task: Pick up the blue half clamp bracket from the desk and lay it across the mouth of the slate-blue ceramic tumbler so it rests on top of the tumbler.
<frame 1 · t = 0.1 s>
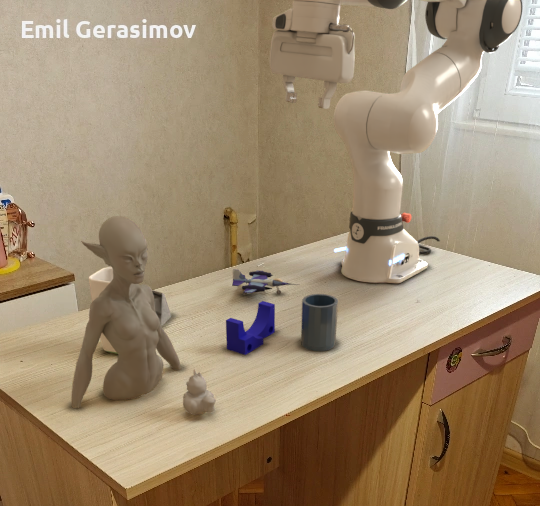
hand: (306, 105, 141), 39 cm above the worktop, tool pointing down, fingers open, 8 cm apart
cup: (122, 350, 141), on the worktop
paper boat: (150, 317, 154), on the worktop
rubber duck: (200, 414, 120), on the worktop
tumbler: (318, 343, 143), on the worktop
toy airplane: (261, 294, 165), on the worktop
elf figurine: (138, 393, 126), on the worktop
blue half clamp bracket: (254, 342, 144), on the worktop
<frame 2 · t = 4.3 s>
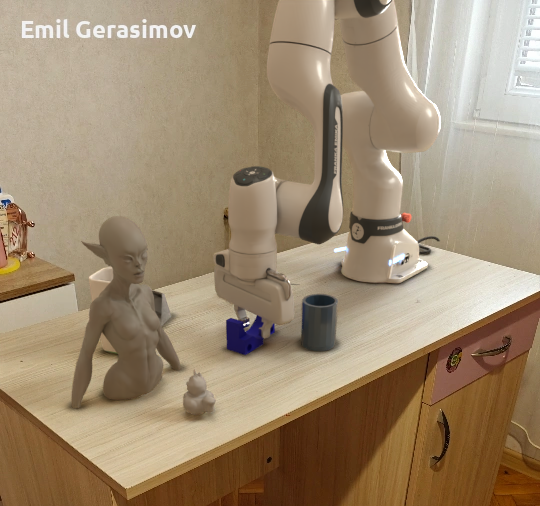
hand: (253, 331, 142), 2 cm above the worktop, tool pointing down, fingers closed on blue half clamp bracket, 5 cm apart
blue half clamp bracket: (254, 342, 144), on the worktop, touching gripper
everything else where it was.
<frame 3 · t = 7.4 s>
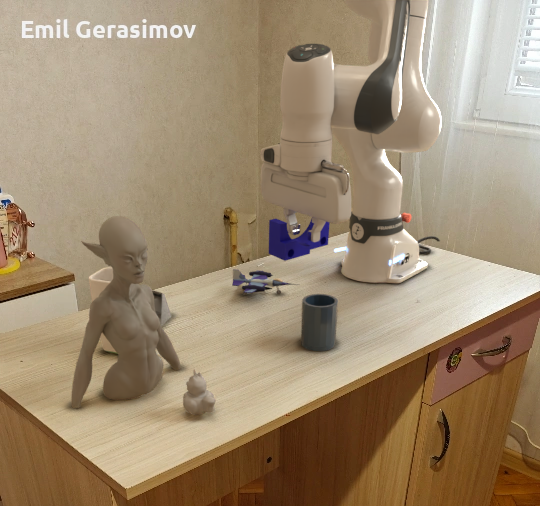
hand: (303, 237, 131), 21 cm above the worktop, tool pointing down, fingers closed on blue half clamp bracket, 4 cm apart
blue half clamp bracket: (301, 251, 132), point 18 cm above the worktop, touching gripper
everything else where it was.
when the fingers open (11 cm above the worktop, at t = 10.9 s): blue half clamp bracket stays where it is, resting on tumbler.
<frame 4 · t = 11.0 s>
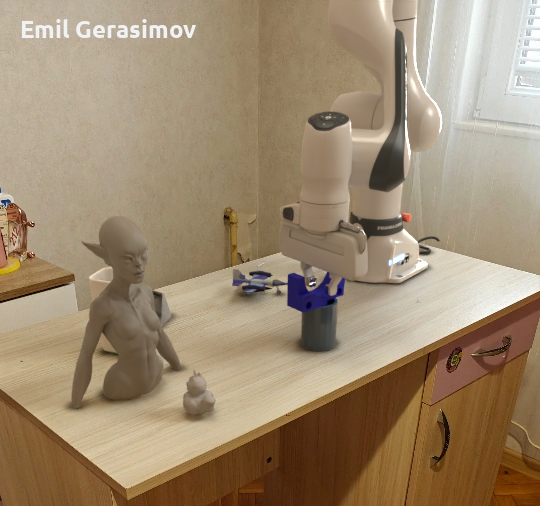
hand: (320, 290, 136), 11 cm above the worktop, tool pointing down, fingers open, 4 cm apart
blue half clamp bracket: (318, 302, 137), point 9 cm above the worktop, touching tumbler
everything else where it was.
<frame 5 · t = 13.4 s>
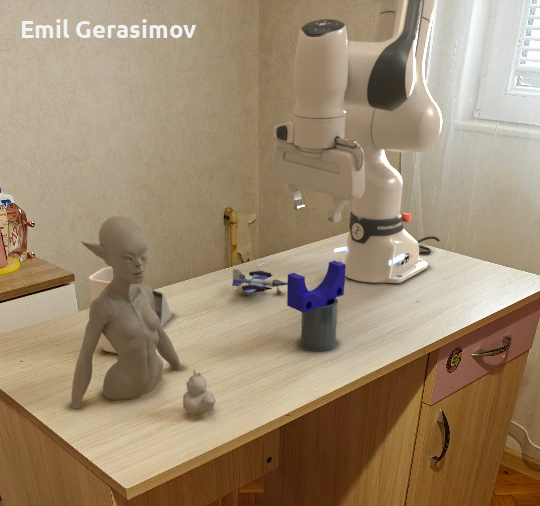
hand: (316, 215, 131), 24 cm above the worktop, tool pointing down, fingers open, 8 cm apart
nothing on the worktop moved.
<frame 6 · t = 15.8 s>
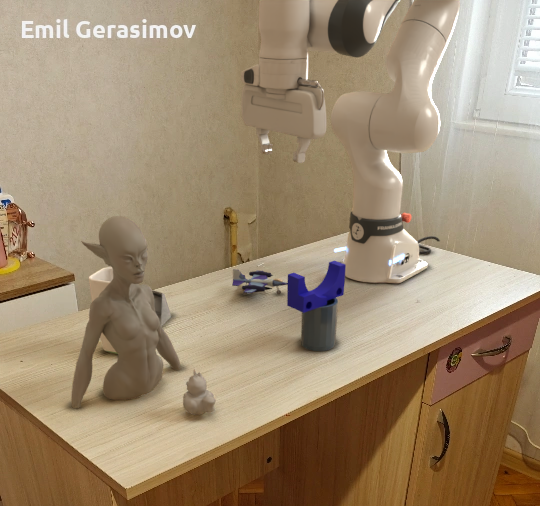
hand: (282, 157, 138), 31 cm above the worktop, tool pointing down, fingers open, 8 cm apart
nothing on the worktop moved.
at the end: blue half clamp bracket 0.6 cm off-centre on the tumbler, point 8.8 cm above the tumbler's base; blue half clamp bracket touching tumbler; the gripper is holding nothing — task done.
